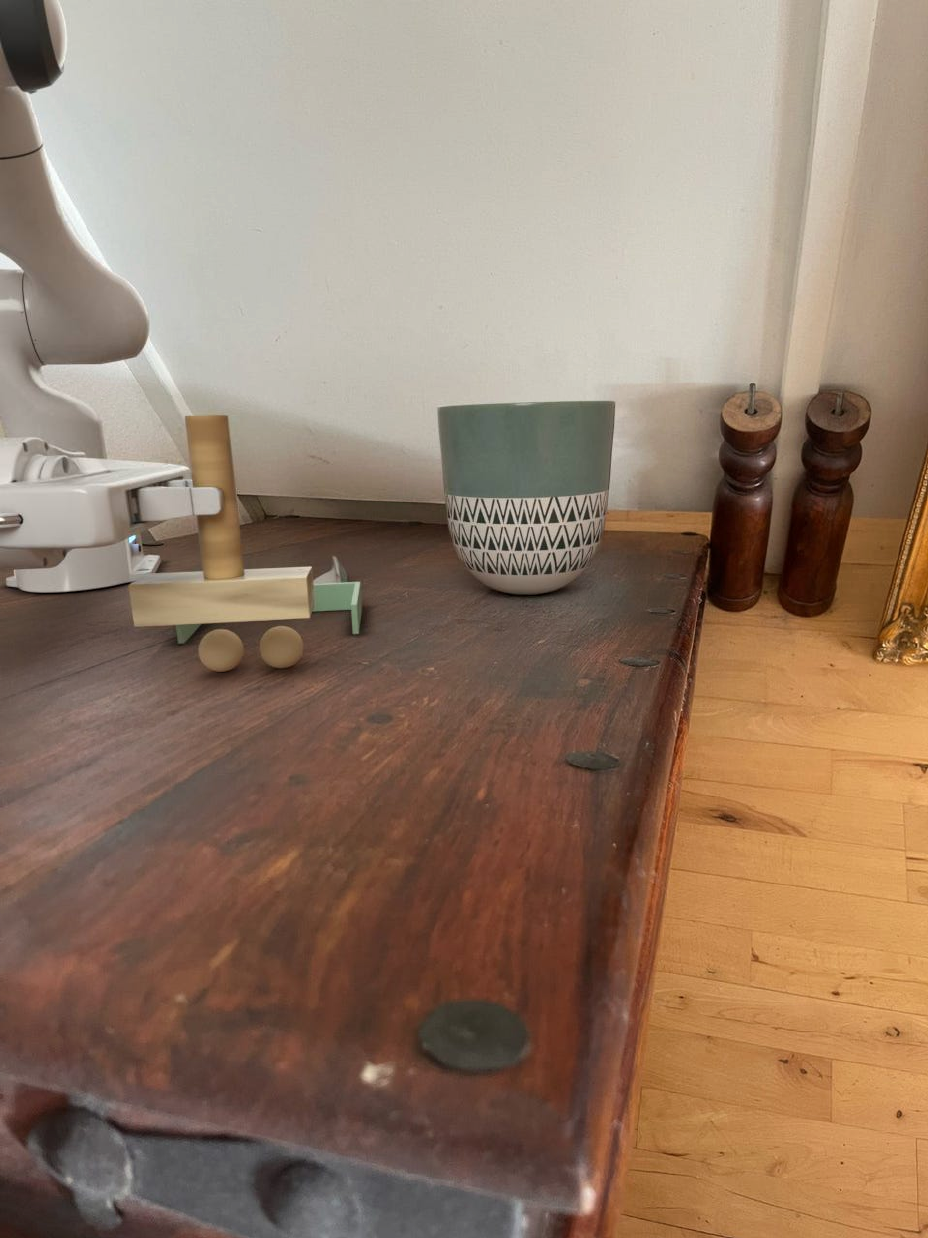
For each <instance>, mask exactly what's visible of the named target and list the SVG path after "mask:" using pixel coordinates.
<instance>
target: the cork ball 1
mask: <svg viewBox="0 0 928 1238" xmlns="http://www.w3.org/2000/svg"><path fill="white" fill-rule="evenodd" d="M197 650H198V657H199V660H200V662H201V663H202V664H203V666H204V667H206V668H207V669H208V670H210V671H212V672H217V673H224V672H229V671H231V670H233V669H235V668H236V667H237V666H238V665H239V664H240V662H241V661H242V659H243V656H244V645H243V642H242V640H241V638H240V637H239V636H238V634H236V633H235V632H233V631H231V630H229V629H226V628H225V629H223V628H219V629H218V628H217V629H214V630H211V631H209V632H207V633H206V634H205V635H204V636H203V637H202V639H201V640H200V642H199V644H198V649H197Z"/></svg>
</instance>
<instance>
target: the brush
mask: <svg viewBox="0 0 928 1238" xmlns="http://www.w3.org/2000/svg"><path fill="white" fill-rule="evenodd" d="M184 424H185V432H186V439H187V441H186V442H187V449H188V456H189V464H190V471H191V475H192V483H193V487H197V486H219V487H220V488H222V490H223V492H224V501H225V508H224V509H223V511H221V512H219V513H218V514H216V515H195V516H196V524H197V531H198V532H197V533H198V541H199V549H200V551H199V552H200V558H201V559H200V560H201V567H202V570H198V571H177V572H175V571H173V572H156V573H152V574H145V575H144V576H142V577H141V578H139V579H137V580H136V581H134V582H130V583H129V584H128V593H129V600H130V607H131V615H132V620H133V626H134V628H142V627H143V628H145V627H162V626H163V627H165V626H176V625H186V624H201V625H203V624H205V625H207V624H224V623H225V624H226V623H244V622H246V623H247V622H265V621H266V622H267V621H284V620H285V621H287V620H304V619H305V620H306V619H310V618H311V616H312V613H313V612H312V611H313V609H314V606H315V597H314V584H313V581H314V574H313V566H292V567H290V566H289V567H269V568H267V567H266V568H247V569H246V568H245V564H244V555H243V554H244V553H243V546H242V544H243V543H242V535H241V524H240V515H239V507H238V496H237V495H238V494H237V487H236V477H235V467H234V458H233V457H234V456H233V448H232V439H231V430H230V429H231V428H230V419H229V415H228V414H196V415H195V414H194V415H193V414H192V415H184Z"/></svg>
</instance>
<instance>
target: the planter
mask: <svg viewBox="0 0 928 1238" xmlns="http://www.w3.org/2000/svg"><path fill="white" fill-rule="evenodd" d="M436 413H437V414H436V415H437V417H436V418H437V430H438V440H439V449H440V457H441V458H440V461H441V471H442V474H441V475H442V484H443V492H444V493H443V494H444V505H445V513H446V522H447V528H448V533H449V536H450V540H451V542H452V545H453V548H454V550H455V553H456V555H457V557H458V559H459V560H460V562H461V564H463V566H464V567H465V569H466V570H467V571H468V572H469V573H470V574H471V575H472V576H473V577H475V579H477V580H478V581H479V582H481V583H482V584H483V585H485V586H487V587H488V588H490V589H492V590H495V591H498V592H501V593H505V594H511V595H519V596H520V595H526V596H531V595H541V594H547V593H551V592H554V591H557V590H559V589H562V588H564V587H566V586H567V585H569V584H571V583H572V582H573V581H575V579H577V578H578V577H579V576H580V575H581V574H583V572H584V571H585V570H586V569H587V568H588V566H589V565H590V564H591V563H592V561H593V560H594V558H595V556H596V555H597V553H598V551H599V548H600V547H601V543H602V540H603V538H604V537H603V536H604V532H605V528H606V524H607V516H608V508H609V495H610V494H609V493H610V486H611V485H610V484H611V483H610V482H611V473H612V471H611V469H612V457H613V446H614V445H613V444H614V432H615V418H616V401H615V400H561V401H560V400H557V401H555V400H554V401H522V402H521V401H519V402H495V403H494V402H493V403H492V402H491V403H471V404H470V403H469V404H468V403H467V404H451V405H439V406H437V407H436Z"/></svg>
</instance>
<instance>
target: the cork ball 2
mask: <svg viewBox="0 0 928 1238" xmlns="http://www.w3.org/2000/svg"><path fill="white" fill-rule="evenodd" d="M303 652H304V643H303V639H302V637H301V635H300V634H299V632H297V631H296V630H295V629H293V628H292V627H289V626H285V625H277V626H273V627H271V628H270V629H268V630H267V631H265V633H264V634H263V635H262V637H261V638H260V642H259V654H260V656H261V659H262V660H263V661H264V662H265V663H266V664H267V665H268V666H270V667H272V668H275V669H287V668H290V667H292V666H294V665H295V664H296V663H298V661H299V660H300V659H301V658H302V655H303Z"/></svg>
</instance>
